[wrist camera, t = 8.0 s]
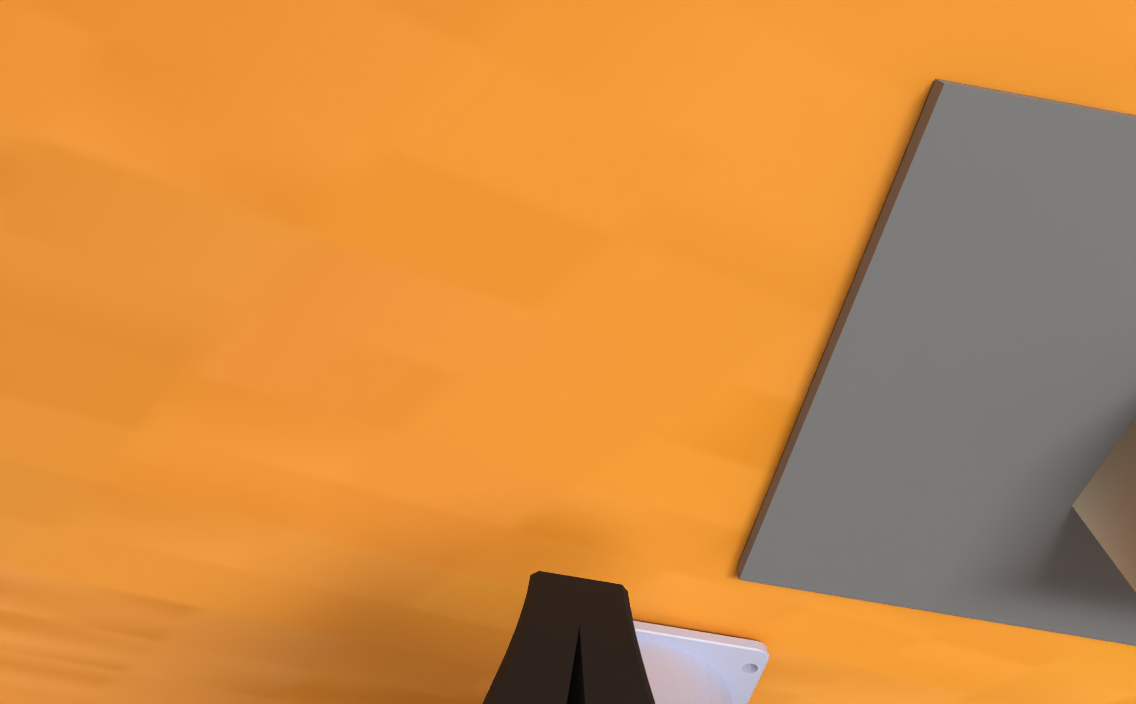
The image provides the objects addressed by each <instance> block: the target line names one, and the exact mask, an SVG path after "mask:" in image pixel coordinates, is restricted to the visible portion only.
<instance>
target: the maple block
mask: <svg viewBox="0 0 1136 704" xmlns="http://www.w3.org/2000/svg"><path fill="white" fill-rule="evenodd" d="M1072 507H1073V508H1074V509H1075V511H1076V512H1077V513H1078V515H1079V516H1080V517H1081V519H1082V520H1083V522H1084V523H1085V524H1086V526H1087V527H1088V528H1089V530H1090V531H1091V532H1092V534H1093V535H1094V536H1095V538H1096V539H1097V541H1098V542H1099V543H1100V545H1101V546H1102V547H1103V549H1104V550H1105V551H1106V553H1107V554H1108V555H1109V557H1110V558H1111V559H1112V561H1113V562H1114V564H1115V565H1116V566H1117V568H1118V569H1119V570H1120V572H1121V573H1122V574H1123V576H1124V577H1125V578H1126V580H1127V581H1128V583H1129V584H1130V585H1131V587H1132V588H1133V589H1134V591H1135V592H1136V416H1135V418H1134V419H1133V420H1132V422H1131V423H1130V425H1129V426H1128V427H1127V429H1126V430H1125V432H1124V433H1123V434H1122V436H1121V437H1120V439H1119V440H1118V441H1117V443H1116V444H1115V446H1114V447H1113V449H1112V450H1111V451H1110V453H1109V454H1108V456H1107V457H1106V458H1105V460H1104V461H1103V463H1102V464H1101V465H1100V467H1099V468H1098V470H1097V471H1096V472H1095V474H1094V475H1093V477H1092V478H1091V479H1090V481H1089V482H1088V484H1087V485H1086V486H1085V488H1084V489H1083V491H1082V492H1081V493H1080V495H1079V496H1078V498H1077V499H1076V500H1075V502H1074V503H1073V505H1072Z"/></svg>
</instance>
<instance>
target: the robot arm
mask: <svg viewBox="0 0 1136 704" xmlns="http://www.w3.org/2000/svg"><path fill="white" fill-rule="evenodd" d="M768 660H769V654H768V649H767V647H766V645H765V644H763V643H762V642H759V641H755V640H749V639H743V638H737V637H730V636H724V635H718V634H712V633H706V632H700V631H694V630H688V629H682V628H676V627H670V626H664V625H658V624H652V623H646V622H639V621H633V618H632V613H631V608H630V603H629V597H628V591H627V590H626V589H625V588H624V587H623V585H620V584H614V583H608V582H602V581H596V580H590V579H584V578H578V577H572V576H566V575H560V574H554V573H548V572H542V571H538V572H536V573H534V574H532V575H530V581H529V586H528V591H527V595H526V599H525V602H524V606H523V609H522V612H521V615H520V618H519V621H518V624H517V626H516V629H515V632H514V634H513V637H512V639H511V642H510V644H509V647H508V649H507V652H506V654H505V657H504V659H503V661H502V663H501V665H500V667H499V670H498V672H497V674H496V676H495V678H494V680H493V682H492V685H491V687H490V689H489V691H488V693H487V695H486V698H485V700H484V702H483V704H748V702H749V699H750V697H751V695H752V693H753V691H754V689H755V687H756V685H757V683H758V681H759V679H760V677H761V675H762V673H763V671H764V669H765V667H766V665H767V663H768Z"/></svg>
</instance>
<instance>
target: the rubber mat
mask: <svg viewBox="0 0 1136 704" xmlns="http://www.w3.org/2000/svg"><path fill="white" fill-rule="evenodd" d="M1135 416H1136V115H1131V114H1126V113H1120V112H1115V111H1109V110H1104V109H1098V108H1093V107H1087V106H1082V105H1076V104H1071V103H1065V102H1060V101H1054V100H1049V99H1043V98H1038V97H1033V96H1027V95H1022V94H1016V93H1011V92H1005V91H1000V90H994V89H989V88H983V87H978V86H972V85H967V84H961V83H956V82H950V81H945V80H939V79H935V81H934V84H933V86H932V89H931V91H930V94H929V96H928V98H927V101H926V103H925V106H924V108H923V111H922V113H921V116H920V118H919V121H918V123H917V126H916V128H915V130H914V133H913V135H912V138H911V140H910V143H909V145H908V148H907V150H906V153H905V155H904V158H903V160H902V162H901V165H900V167H899V170H898V172H897V175H896V177H895V180H894V182H893V185H892V187H891V190H890V192H889V194H888V197H887V199H886V202H885V204H884V207H883V209H882V212H881V214H880V217H879V219H878V222H877V224H876V226H875V229H874V231H873V234H872V236H871V239H870V241H869V244H868V246H867V249H866V251H865V254H864V256H863V258H862V261H861V263H860V266H859V268H858V271H857V273H856V276H855V278H854V281H853V283H852V286H851V288H850V290H849V293H848V295H847V298H846V300H845V303H844V305H843V308H842V310H841V313H840V315H839V318H838V320H837V322H836V325H835V327H834V330H833V332H832V335H831V337H830V340H829V342H828V345H827V347H826V350H825V352H824V354H823V357H822V359H821V362H820V364H819V367H818V369H817V372H816V374H815V377H814V379H813V382H812V384H811V386H810V389H809V391H808V394H807V396H806V399H805V401H804V404H803V406H802V409H801V411H800V414H799V416H798V418H797V421H796V423H795V426H794V428H793V431H792V433H791V436H790V438H789V441H788V443H787V446H786V448H785V450H784V453H783V455H782V458H781V460H780V463H779V465H778V468H777V470H776V473H775V475H774V477H773V480H772V482H771V485H770V487H769V490H768V492H767V495H766V497H765V500H764V502H763V505H762V507H761V509H760V512H759V514H758V517H757V519H756V522H755V524H754V527H753V529H752V532H751V534H750V537H749V539H748V541H747V544H746V546H745V549H744V551H743V554H742V556H741V559H740V561H739V564H738V566H737V570H738V576H739V580H744V581H750V582H756V583H762V584H768V585H774V586H780V587H786V588H792V589H798V590H804V591H810V592H816V593H822V594H828V595H834V596H840V597H846V598H852V599H858V600H864V601H870V602H876V603H882V604H888V605H894V606H900V607H906V608H912V609H918V610H924V611H930V612H936V613H942V614H948V615H954V616H960V617H966V618H972V619H978V620H984V621H990V622H996V623H1002V624H1008V625H1014V626H1020V627H1026V628H1032V629H1038V630H1044V631H1050V632H1056V633H1062V634H1068V635H1074V636H1080V637H1086V638H1092V639H1098V640H1104V641H1110V642H1116V643H1122V644H1128V645H1134V646H1136V592H1135V591H1134V589H1133V588H1132V587H1131V585H1130V584H1129V583H1128V581H1127V580H1126V578H1125V577H1124V576H1123V574H1122V573H1121V572H1120V570H1119V569H1118V568H1117V566H1116V565H1115V564H1114V562H1113V561H1112V559H1111V558H1110V557H1109V555H1108V554H1107V553H1106V551H1105V550H1104V549H1103V547H1102V546H1101V545H1100V543H1099V542H1098V541H1097V539H1096V538H1095V536H1094V535H1093V534H1092V532H1091V531H1090V530H1089V528H1088V527H1087V526H1086V524H1085V523H1084V522H1083V520H1082V519H1081V517H1080V516H1079V515H1078V513H1077V512H1076V511H1075V509H1074V508H1073V507H1072V505H1073V503H1074V502H1075V500H1076V499H1077V498H1078V496H1079V495H1080V493H1081V492H1082V491H1083V489H1084V488H1085V486H1086V485H1087V484H1088V482H1089V481H1090V479H1091V478H1092V477H1093V475H1094V474H1095V472H1096V471H1097V470H1098V468H1099V467H1100V465H1101V464H1102V463H1103V461H1104V460H1105V458H1106V457H1107V456H1108V454H1109V453H1110V451H1111V450H1112V449H1113V447H1114V446H1115V444H1116V443H1117V441H1118V440H1119V439H1120V437H1121V436H1122V434H1123V433H1124V432H1125V430H1126V429H1127V427H1128V426H1129V425H1130V423H1131V422H1132V420H1133V419H1134V418H1135Z"/></svg>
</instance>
